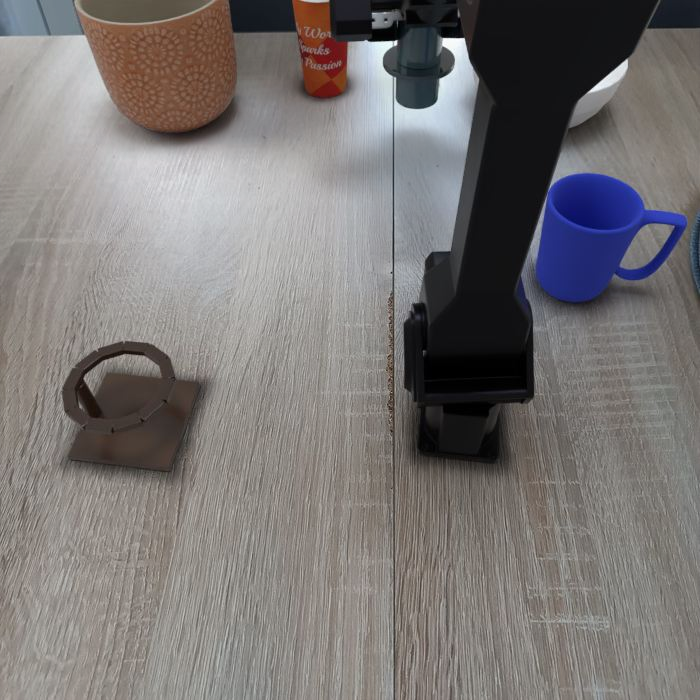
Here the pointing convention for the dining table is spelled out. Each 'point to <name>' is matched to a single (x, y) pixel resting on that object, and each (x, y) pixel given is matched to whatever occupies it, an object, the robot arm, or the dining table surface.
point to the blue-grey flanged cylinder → (418, 65)
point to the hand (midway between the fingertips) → (418, 33)
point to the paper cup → (320, 49)
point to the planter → (163, 58)
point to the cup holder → (129, 411)
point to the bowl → (593, 95)
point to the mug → (595, 235)
